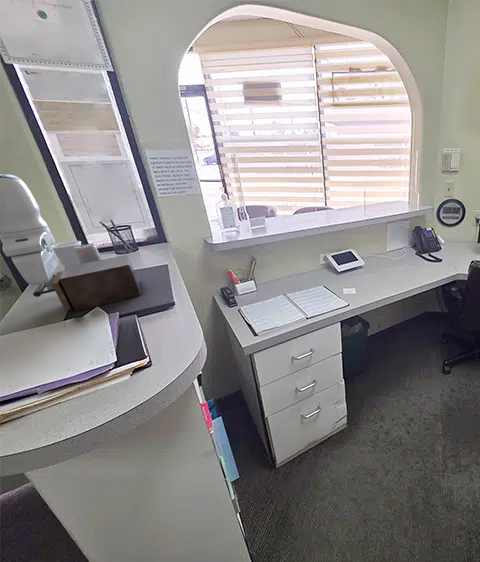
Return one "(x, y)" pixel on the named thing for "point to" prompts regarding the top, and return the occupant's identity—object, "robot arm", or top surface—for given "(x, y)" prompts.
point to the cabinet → (100, 282)
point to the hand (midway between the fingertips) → (54, 289)
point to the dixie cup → (67, 253)
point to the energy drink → (87, 253)
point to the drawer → (59, 290)
